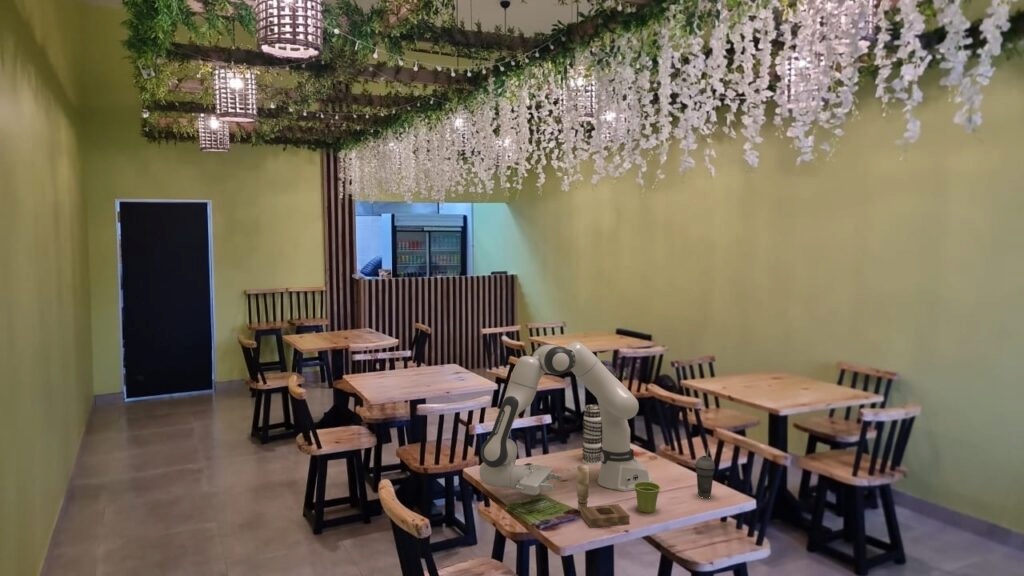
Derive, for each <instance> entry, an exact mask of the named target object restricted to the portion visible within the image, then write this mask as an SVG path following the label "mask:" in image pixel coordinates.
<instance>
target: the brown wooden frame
mask: <svg viewBox="0 0 1024 576" xmlns="http://www.w3.org/2000/svg"><path fill="white" fill-rule="evenodd" d="M580 516H581V518H582V519H583V520H584V522H585V523H586V524H587V525H588V526H589V528H591V529H593V528H600V527H602V528H603V527H612V526H624V525H630V520H631V519H630V514H629V513H628V512H627V511H626V509H624V508H623V507H622V506H621V505H620V504H615V503H614V504H603V505H593V506H592V505H591V506H587V507H581V512H580Z"/></svg>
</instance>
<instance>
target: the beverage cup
mask: <svg viewBox="0 0 1024 576" xmlns="http://www.w3.org/2000/svg"><path fill="white" fill-rule="evenodd" d="M709 450H710V445H707V449H706V455H701V456H699V457H698V458H697V459H696V462H695V466H694V467H695V472H696V482H697V483H696V485H697V496H698V495H699V496H700V497H703V498H709V497H710V496H711V497H712V491H713V490H712V487H713V479H714V473H715V469H716V467H715V461H714V460H713V459H712V458H711V457H710V456H709ZM699 496H698V497H699ZM700 497H699V498H700ZM711 497H710V498H711ZM703 498H702V499H703ZM710 498H709V499H710Z"/></svg>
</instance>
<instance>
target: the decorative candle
mask: <svg viewBox="0 0 1024 576" xmlns="http://www.w3.org/2000/svg"><path fill="white" fill-rule="evenodd" d="M583 410H584V412H583V414H584V415H583V420H582V421H581V423H582V428H583V429H582V436H583V445H582V463H584V462H585V463H584V464H586V463H590V464H589V465H591V464H596V465H600V464H601V447H602V422H601V416H600V409H599V404H598V405H597V404H587V405H585V407H584V408H583ZM599 463H600V464H599Z"/></svg>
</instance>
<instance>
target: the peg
mask: <svg viewBox="0 0 1024 576" xmlns="http://www.w3.org/2000/svg"><path fill="white" fill-rule="evenodd" d="M576 468H577V474H576V475H577V477H576V478H577V479H576V481H577V484H576V488H577V489H576V498H577V511H578V512H579V511H580V512H579V513H581V507H588V499H589V481H590V480H589V477H590V476H589V475H590V474H589V470H590V467H589V466H588V465H587V464H586V465H585V464H580V465H578V466H577V467H576Z"/></svg>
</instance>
